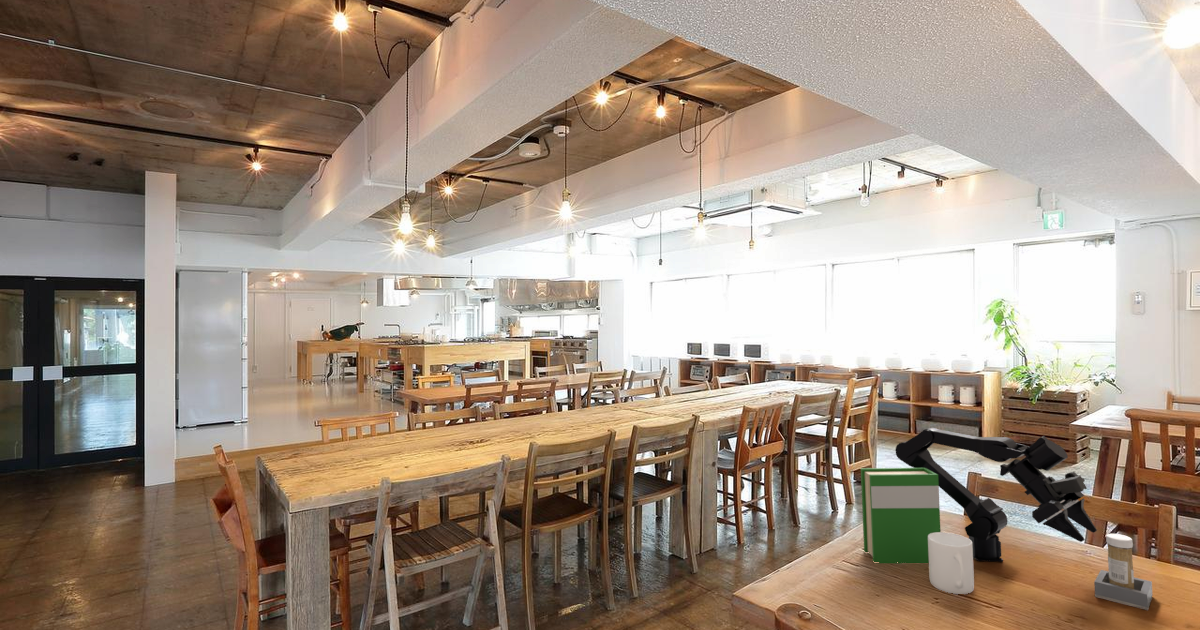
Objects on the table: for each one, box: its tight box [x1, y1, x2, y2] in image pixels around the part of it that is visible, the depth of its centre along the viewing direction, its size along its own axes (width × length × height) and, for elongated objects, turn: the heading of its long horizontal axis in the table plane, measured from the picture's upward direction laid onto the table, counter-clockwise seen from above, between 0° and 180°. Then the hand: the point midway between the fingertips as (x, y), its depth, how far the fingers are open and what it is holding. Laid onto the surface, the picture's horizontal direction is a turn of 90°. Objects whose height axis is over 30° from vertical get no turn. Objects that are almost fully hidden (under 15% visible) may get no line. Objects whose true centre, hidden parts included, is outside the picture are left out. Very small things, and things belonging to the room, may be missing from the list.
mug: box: [928, 531, 975, 595], centre depth 140 cm, size 10×12×12 cm
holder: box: [1093, 569, 1154, 611], centre depth 133 cm, size 9×9×4 cm
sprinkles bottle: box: [1105, 533, 1135, 589], centre depth 133 cm, size 5×5×13 cm
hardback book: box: [860, 467, 942, 564], centre depth 159 cm, size 18×7×24 cm, turn 85°
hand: (1089, 536), depth 138 cm, fingers open, 9 cm apart
